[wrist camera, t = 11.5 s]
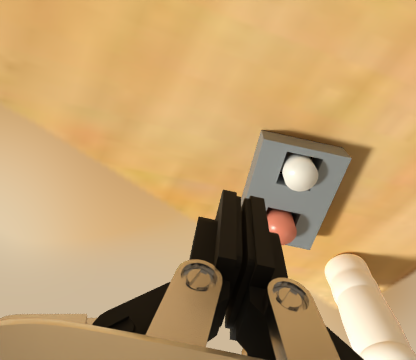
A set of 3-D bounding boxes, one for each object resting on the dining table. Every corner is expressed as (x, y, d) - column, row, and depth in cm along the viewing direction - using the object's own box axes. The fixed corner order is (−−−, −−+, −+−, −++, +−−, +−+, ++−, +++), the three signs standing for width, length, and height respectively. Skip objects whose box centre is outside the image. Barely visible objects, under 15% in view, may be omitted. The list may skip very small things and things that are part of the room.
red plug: (295, 207, 46) (301, 224, 42) (286, 229, 48) (291, 247, 44) (267, 201, 46) (270, 217, 42) (260, 224, 48) (262, 241, 44)
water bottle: (320, 256, 52) (381, 423, 30) (362, 247, 51) (460, 417, 29) (327, 285, 55) (388, 457, 33) (367, 277, 54) (460, 453, 31)
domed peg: (315, 153, 43) (323, 165, 39) (304, 179, 45) (311, 194, 41) (285, 146, 43) (290, 158, 39) (276, 173, 45) (280, 187, 41)
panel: (342, 147, 43) (351, 158, 40) (304, 234, 51) (309, 249, 47) (261, 129, 43) (263, 139, 40) (235, 219, 50) (235, 234, 47)
